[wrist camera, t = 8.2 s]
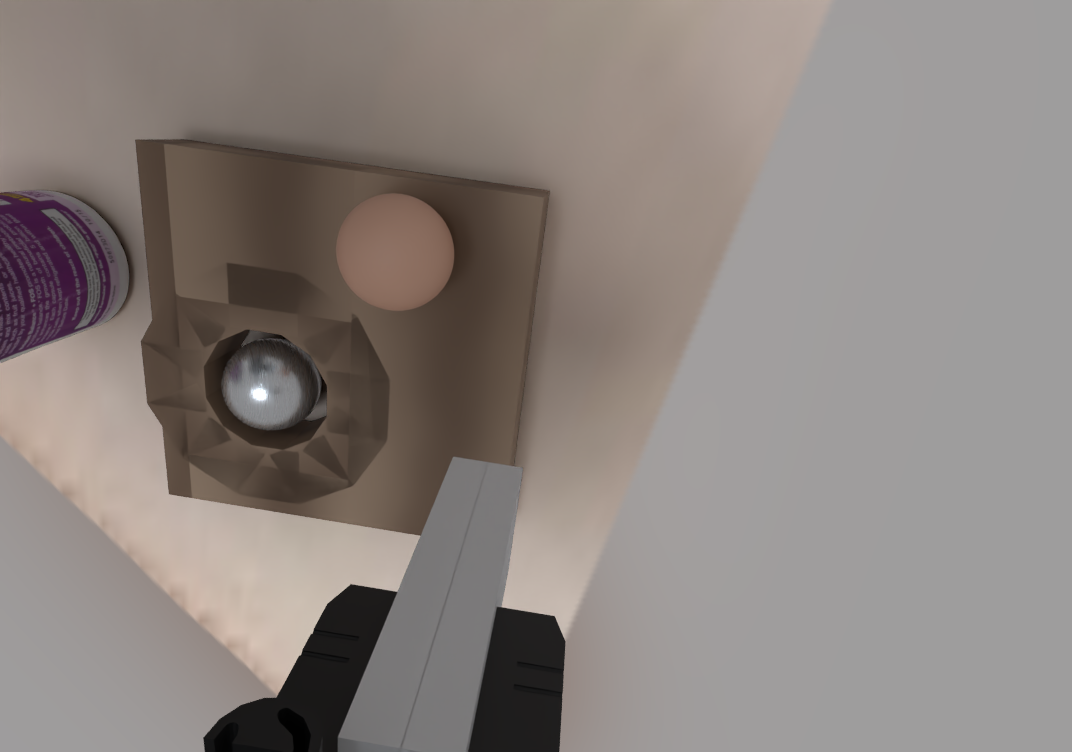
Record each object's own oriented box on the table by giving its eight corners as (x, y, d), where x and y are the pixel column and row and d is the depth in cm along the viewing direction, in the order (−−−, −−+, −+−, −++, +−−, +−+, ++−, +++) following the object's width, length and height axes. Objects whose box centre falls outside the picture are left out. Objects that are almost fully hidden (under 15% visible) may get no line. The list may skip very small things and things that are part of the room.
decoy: (358, 288, 21) (316, 315, 18) (361, 181, 20) (316, 190, 17) (459, 302, 21) (434, 332, 18) (468, 197, 20) (443, 208, 17)
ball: (230, 448, 22) (331, 438, 24) (231, 350, 21) (335, 349, 23) (214, 417, 24) (305, 411, 26) (214, 329, 24) (308, 329, 25)
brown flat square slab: (194, 461, 27) (156, 492, 25) (170, 137, 22) (120, 137, 20) (507, 512, 27) (499, 548, 24) (549, 191, 22) (543, 197, 20)
